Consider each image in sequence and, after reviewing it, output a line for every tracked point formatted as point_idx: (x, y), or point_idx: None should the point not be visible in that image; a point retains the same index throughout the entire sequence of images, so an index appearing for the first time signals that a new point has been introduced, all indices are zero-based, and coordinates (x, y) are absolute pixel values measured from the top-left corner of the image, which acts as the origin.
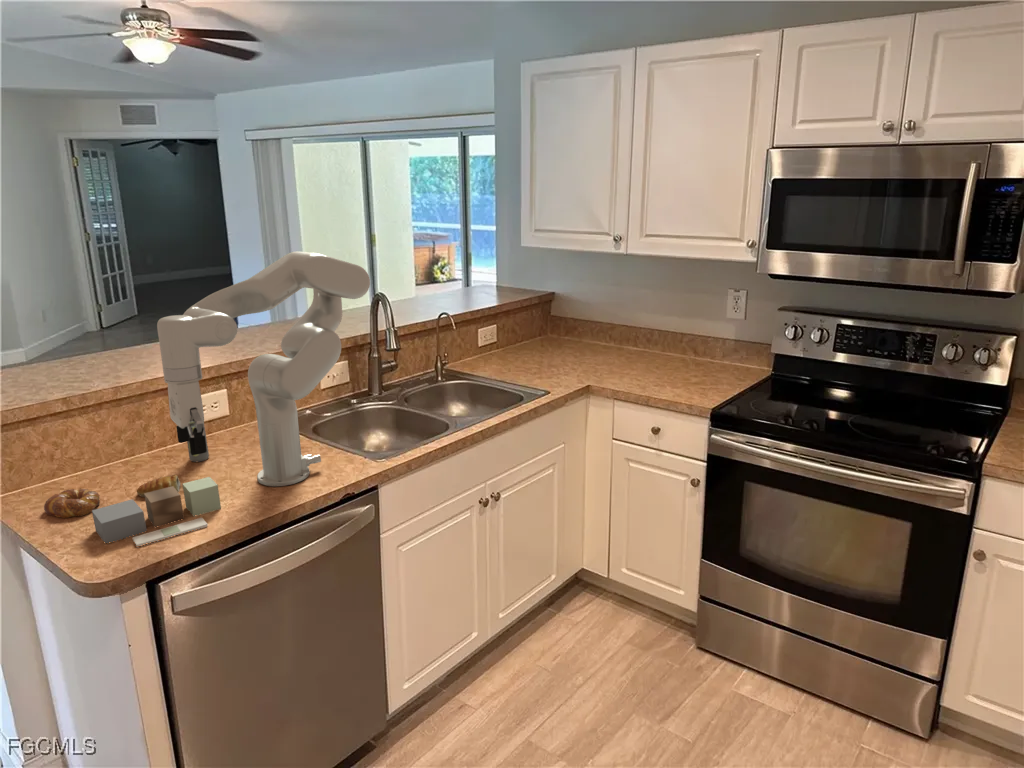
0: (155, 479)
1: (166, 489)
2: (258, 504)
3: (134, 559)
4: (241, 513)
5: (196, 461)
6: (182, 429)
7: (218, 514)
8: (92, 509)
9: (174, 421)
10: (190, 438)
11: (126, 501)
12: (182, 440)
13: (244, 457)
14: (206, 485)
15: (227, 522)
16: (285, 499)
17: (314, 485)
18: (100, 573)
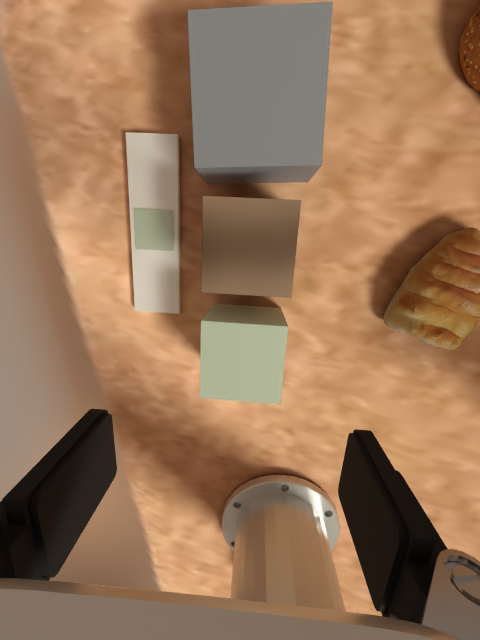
0: (473, 289)
1: (278, 272)
2: (177, 428)
3: (68, 111)
4: (157, 386)
5: None
6: (379, 531)
7: (185, 349)
8: (468, 77)
9: (236, 636)
10: (6, 502)
11: (318, 141)
12: (350, 451)
13: (466, 512)
14: (219, 374)
15: (131, 348)
16: (164, 473)
17: (191, 534)
18: (38, 9)
